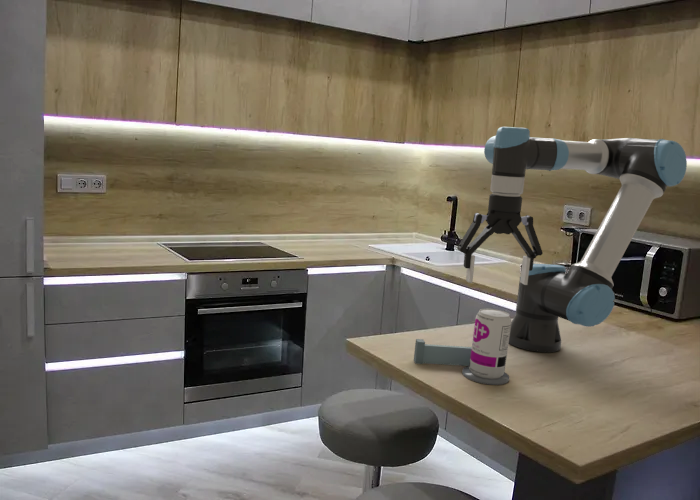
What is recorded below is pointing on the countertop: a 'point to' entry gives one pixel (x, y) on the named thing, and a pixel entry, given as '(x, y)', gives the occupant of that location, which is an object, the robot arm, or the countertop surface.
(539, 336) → the robot arm
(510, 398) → the countertop surface
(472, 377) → the coaster
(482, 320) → the supplement can
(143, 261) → the countertop surface
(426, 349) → the handle
